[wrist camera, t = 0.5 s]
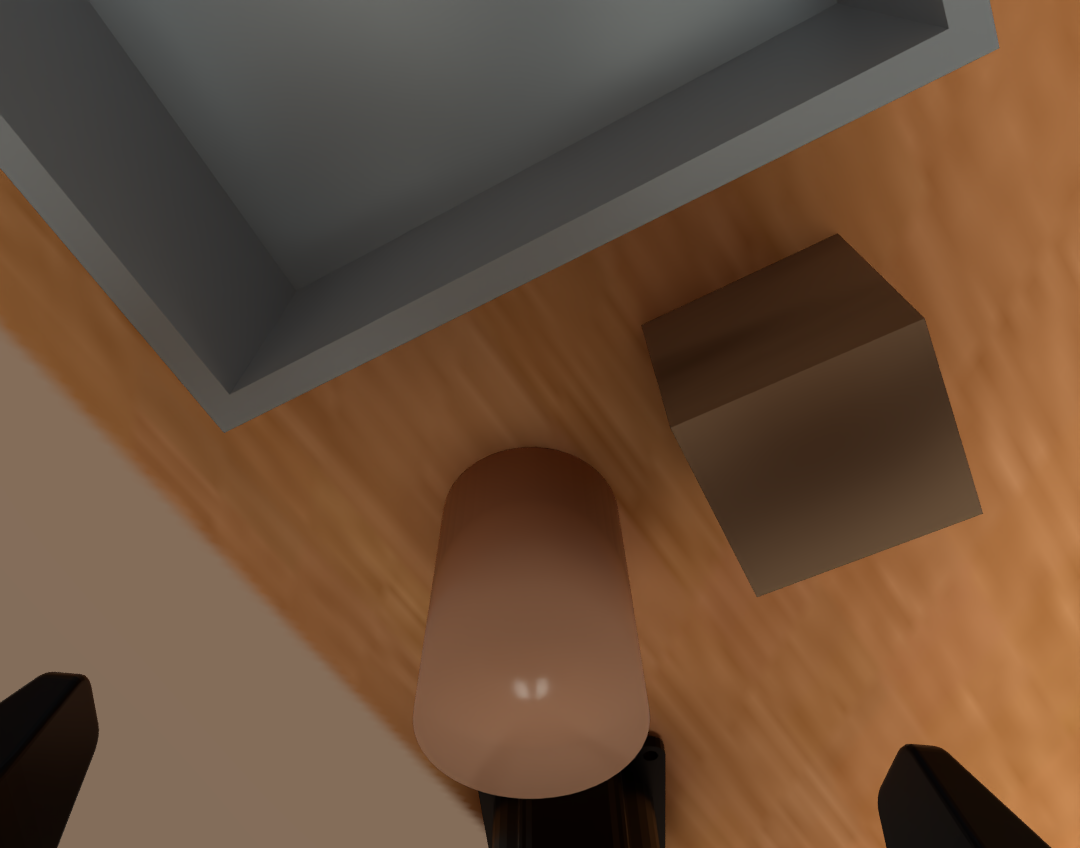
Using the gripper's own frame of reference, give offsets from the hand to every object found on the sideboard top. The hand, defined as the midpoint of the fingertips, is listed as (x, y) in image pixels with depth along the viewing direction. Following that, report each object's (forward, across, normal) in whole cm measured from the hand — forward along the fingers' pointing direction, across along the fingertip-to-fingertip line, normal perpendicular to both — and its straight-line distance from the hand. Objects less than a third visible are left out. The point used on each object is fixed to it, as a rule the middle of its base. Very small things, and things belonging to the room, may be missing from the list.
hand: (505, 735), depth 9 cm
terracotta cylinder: (+13, -1, +6) cm, 14 cm away
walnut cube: (+13, -6, 0) cm, 14 cm away
